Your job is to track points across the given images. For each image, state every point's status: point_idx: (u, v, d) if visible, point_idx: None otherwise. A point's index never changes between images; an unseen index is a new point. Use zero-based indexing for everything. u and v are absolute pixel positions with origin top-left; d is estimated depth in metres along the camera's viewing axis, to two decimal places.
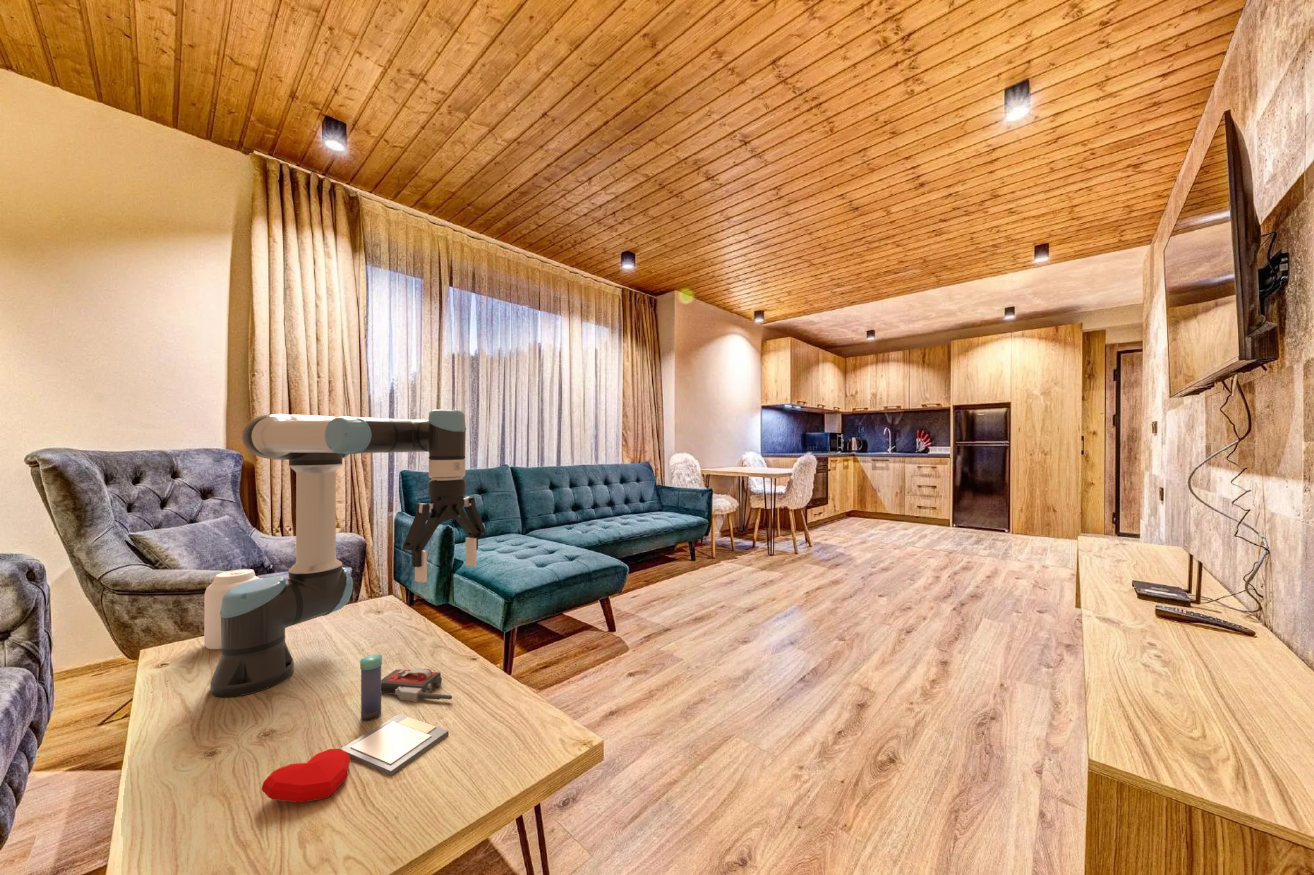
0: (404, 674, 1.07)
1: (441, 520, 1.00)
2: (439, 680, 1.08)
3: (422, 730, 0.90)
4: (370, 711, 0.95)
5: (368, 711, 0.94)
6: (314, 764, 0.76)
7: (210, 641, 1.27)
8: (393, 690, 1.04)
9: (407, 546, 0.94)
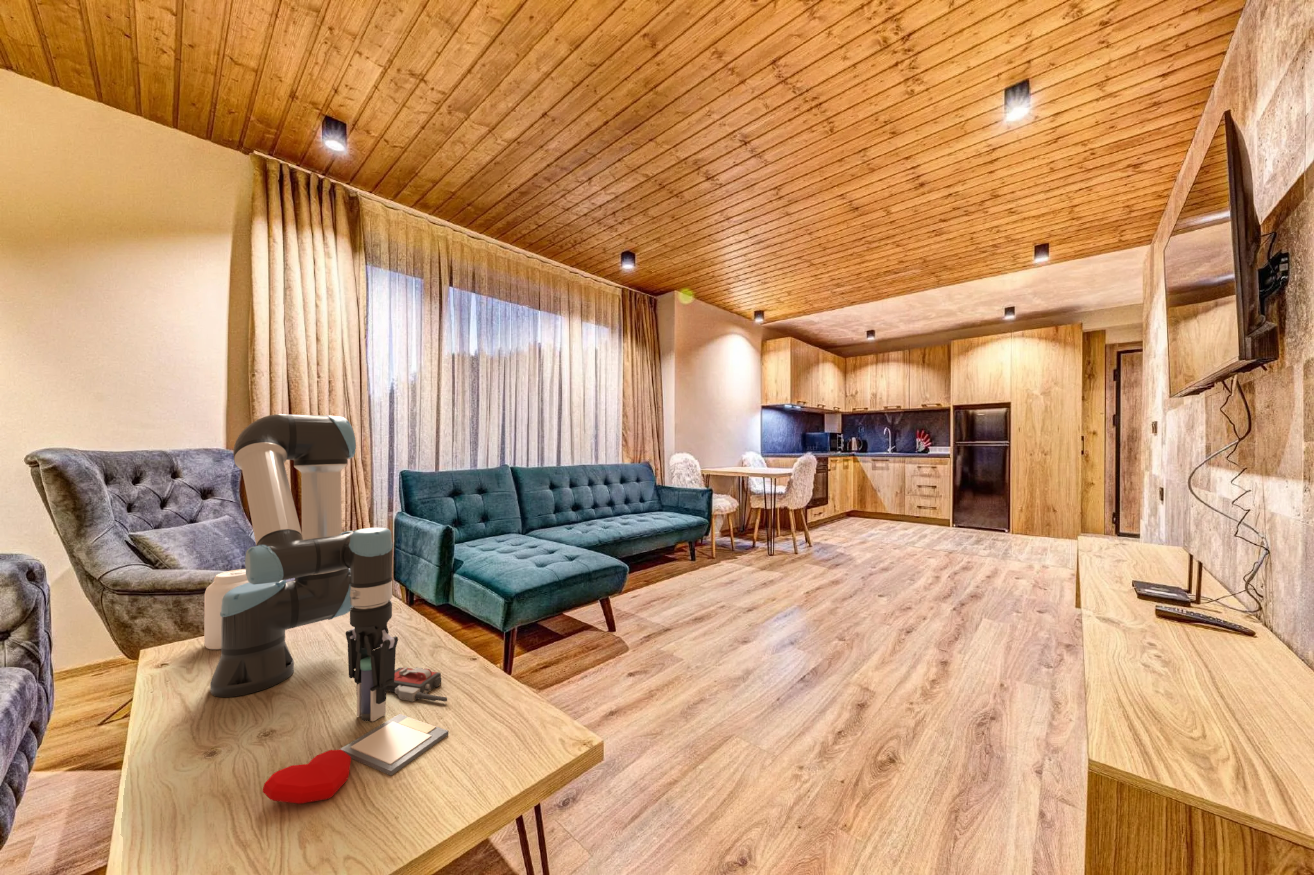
0: (405, 673, 1.08)
1: (358, 649, 0.95)
2: (438, 680, 1.08)
3: (422, 730, 0.90)
4: (370, 711, 0.95)
5: (368, 711, 0.94)
6: (315, 765, 0.76)
7: (210, 641, 1.27)
8: (393, 688, 1.05)
9: None
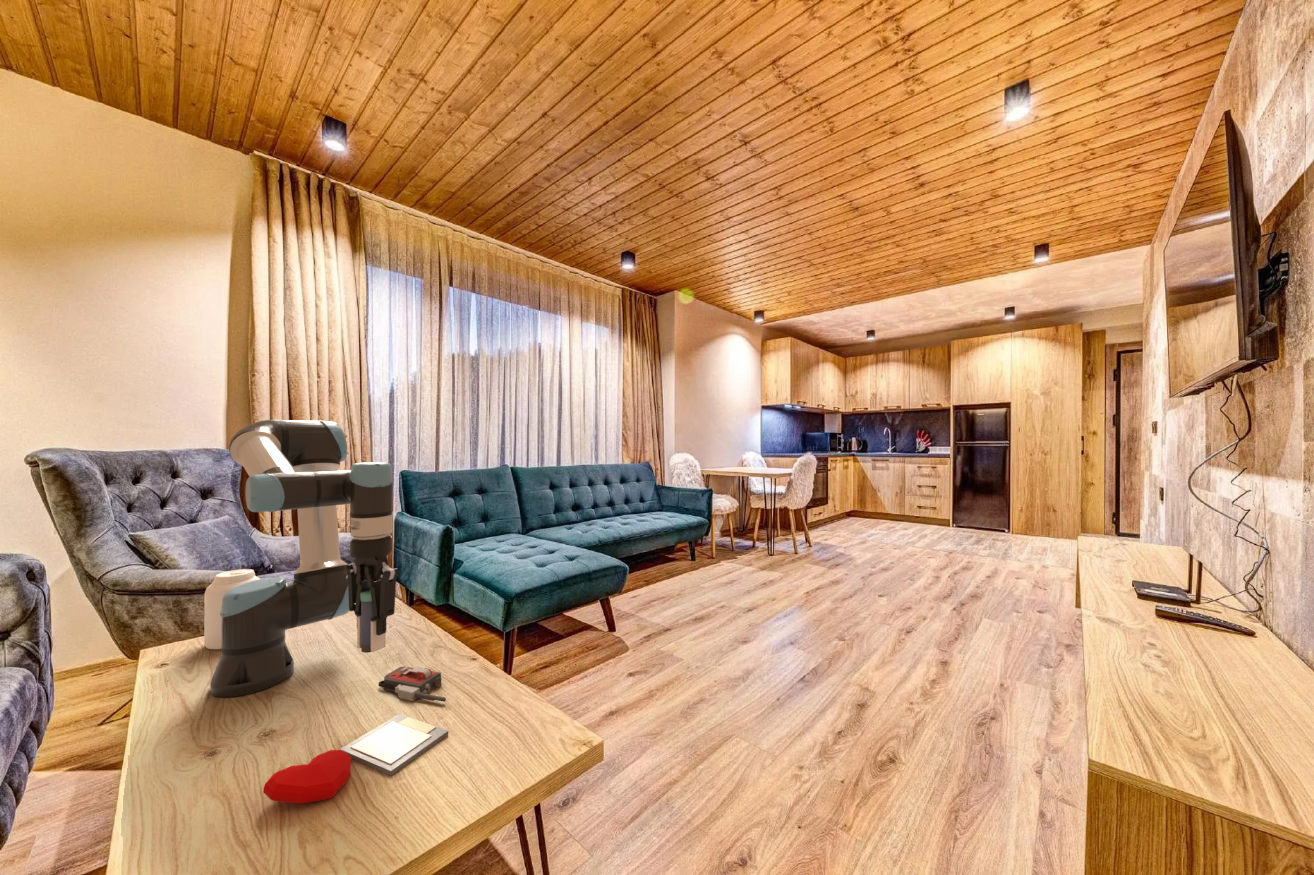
0: (406, 672, 1.08)
1: (358, 582, 0.95)
2: (438, 680, 1.08)
3: (422, 730, 0.90)
4: (370, 643, 0.95)
5: (368, 643, 0.95)
6: (316, 765, 0.76)
7: (210, 641, 1.27)
8: (393, 687, 1.05)
9: None
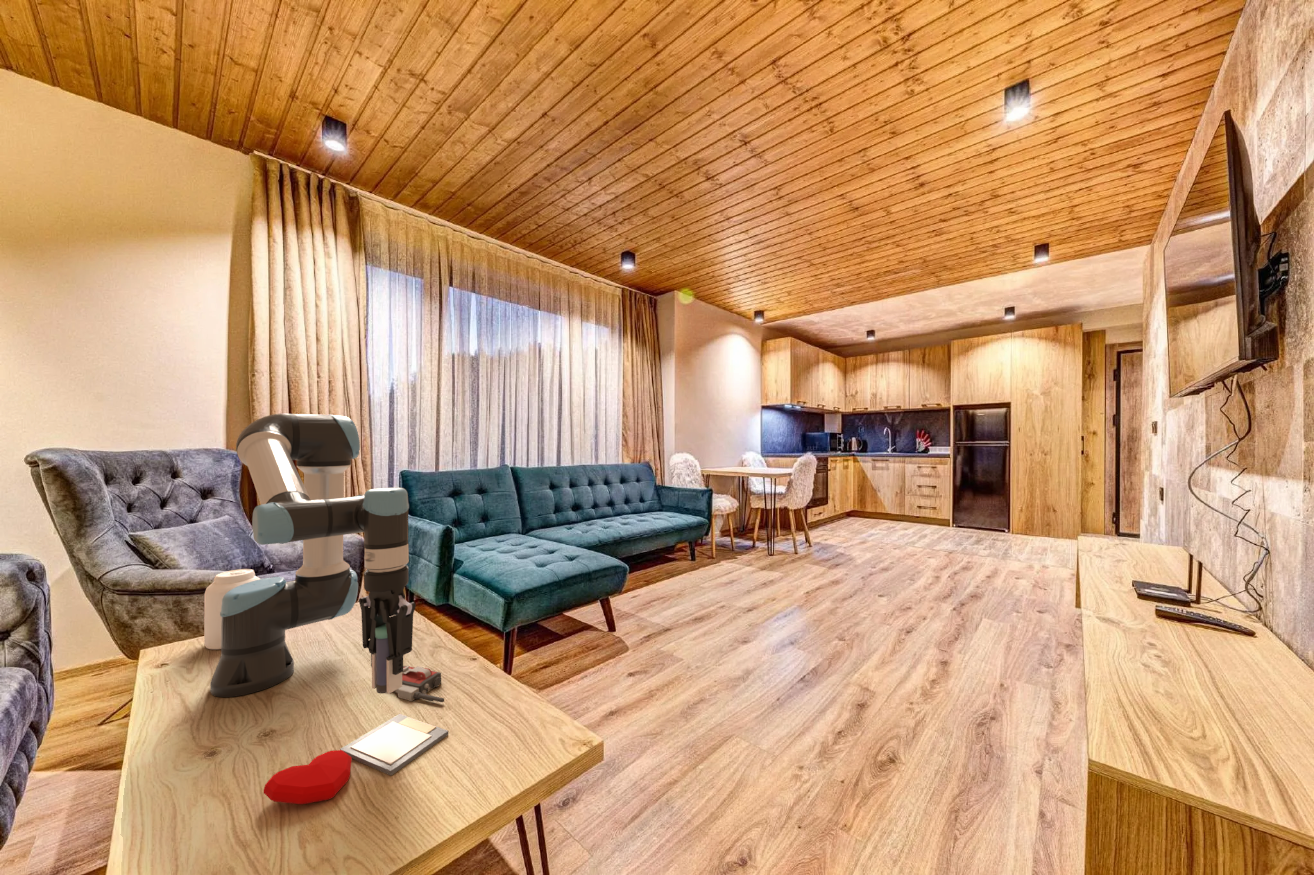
0: (406, 672, 1.08)
1: (373, 617, 0.89)
2: (438, 680, 1.08)
3: (422, 730, 0.90)
4: (386, 683, 0.88)
5: (384, 683, 0.88)
6: (316, 765, 0.76)
7: (210, 641, 1.27)
8: None
9: None
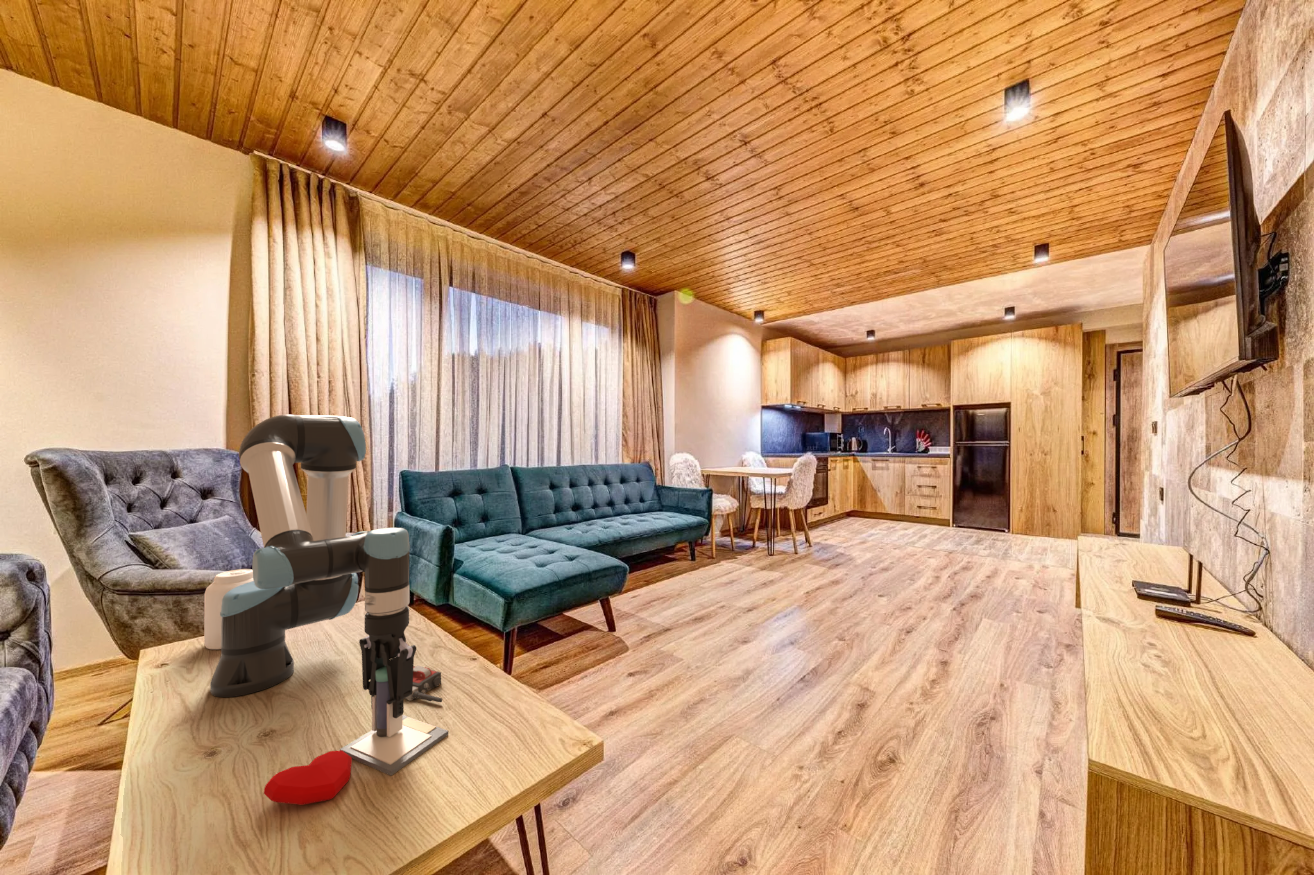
0: None
1: (373, 659, 0.88)
2: (438, 680, 1.08)
3: (422, 730, 0.90)
4: (386, 726, 0.88)
5: (384, 726, 0.88)
6: (316, 766, 0.76)
7: (210, 641, 1.27)
8: None
9: None
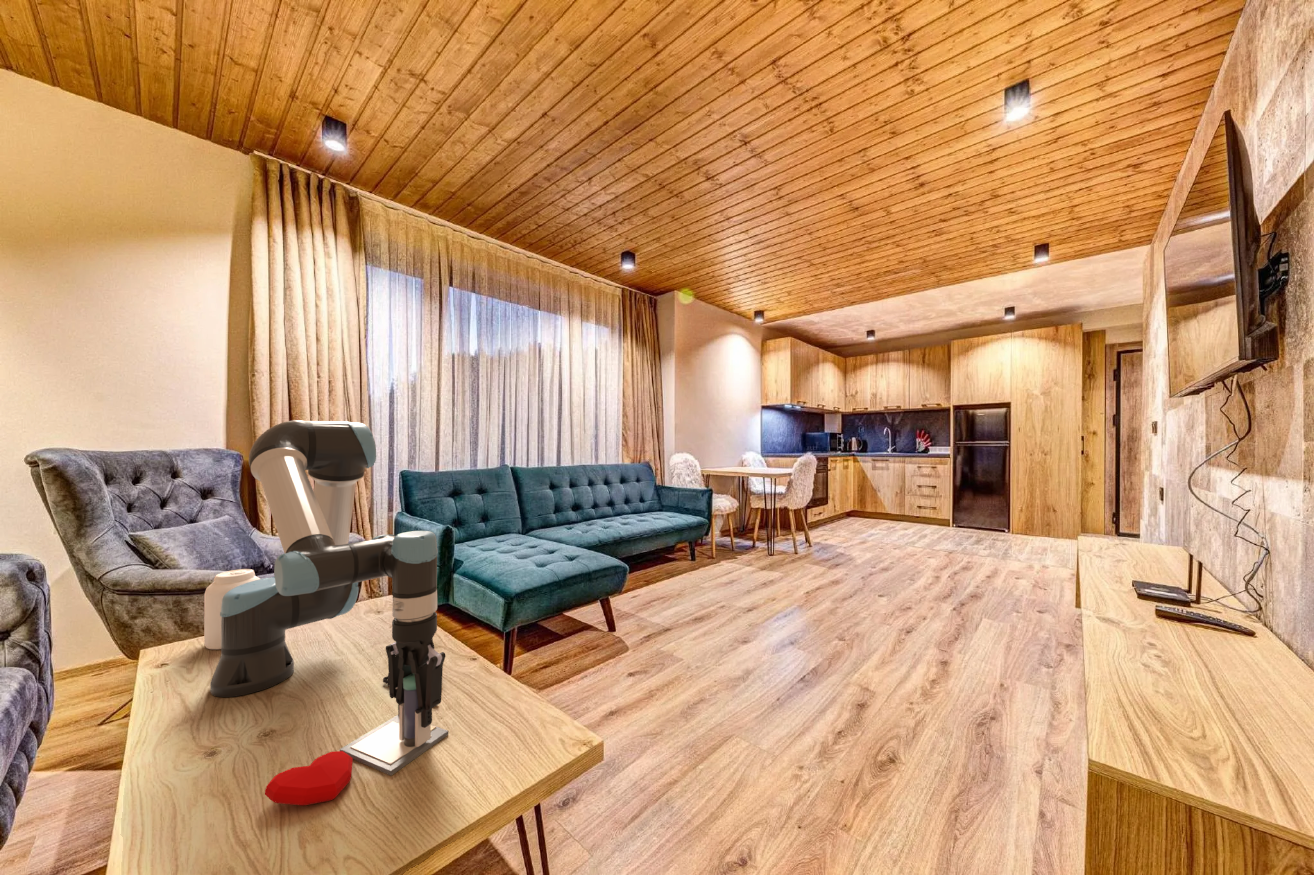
0: None
1: (400, 667, 0.86)
2: None
3: None
4: (414, 736, 0.85)
5: (412, 736, 0.85)
6: (317, 766, 0.76)
7: (210, 641, 1.27)
8: None
9: None
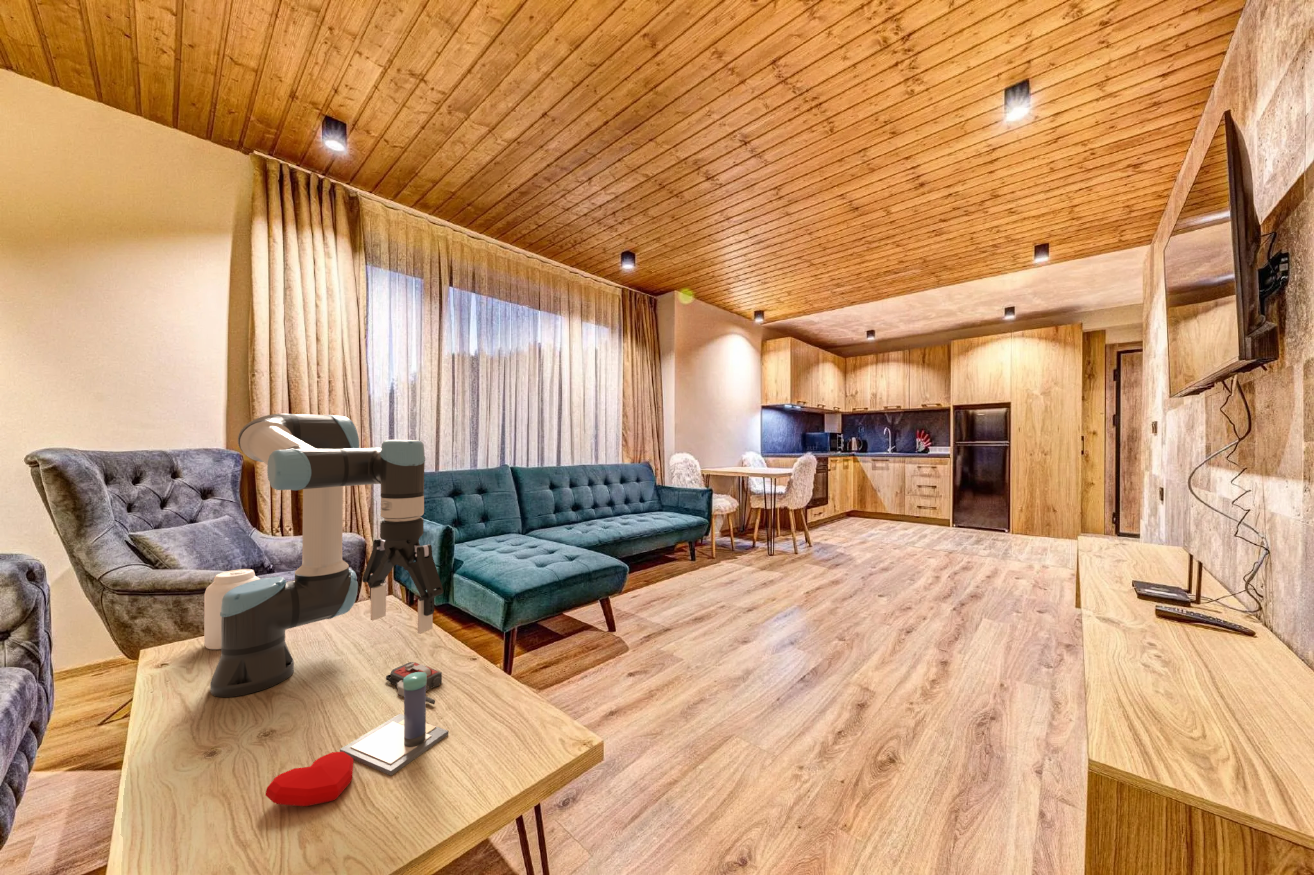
0: (410, 668, 1.10)
1: (383, 562, 0.90)
2: (438, 680, 1.08)
3: None
4: (414, 736, 0.85)
5: (412, 736, 0.85)
6: (318, 767, 0.75)
7: (210, 641, 1.27)
8: (396, 683, 1.07)
9: None
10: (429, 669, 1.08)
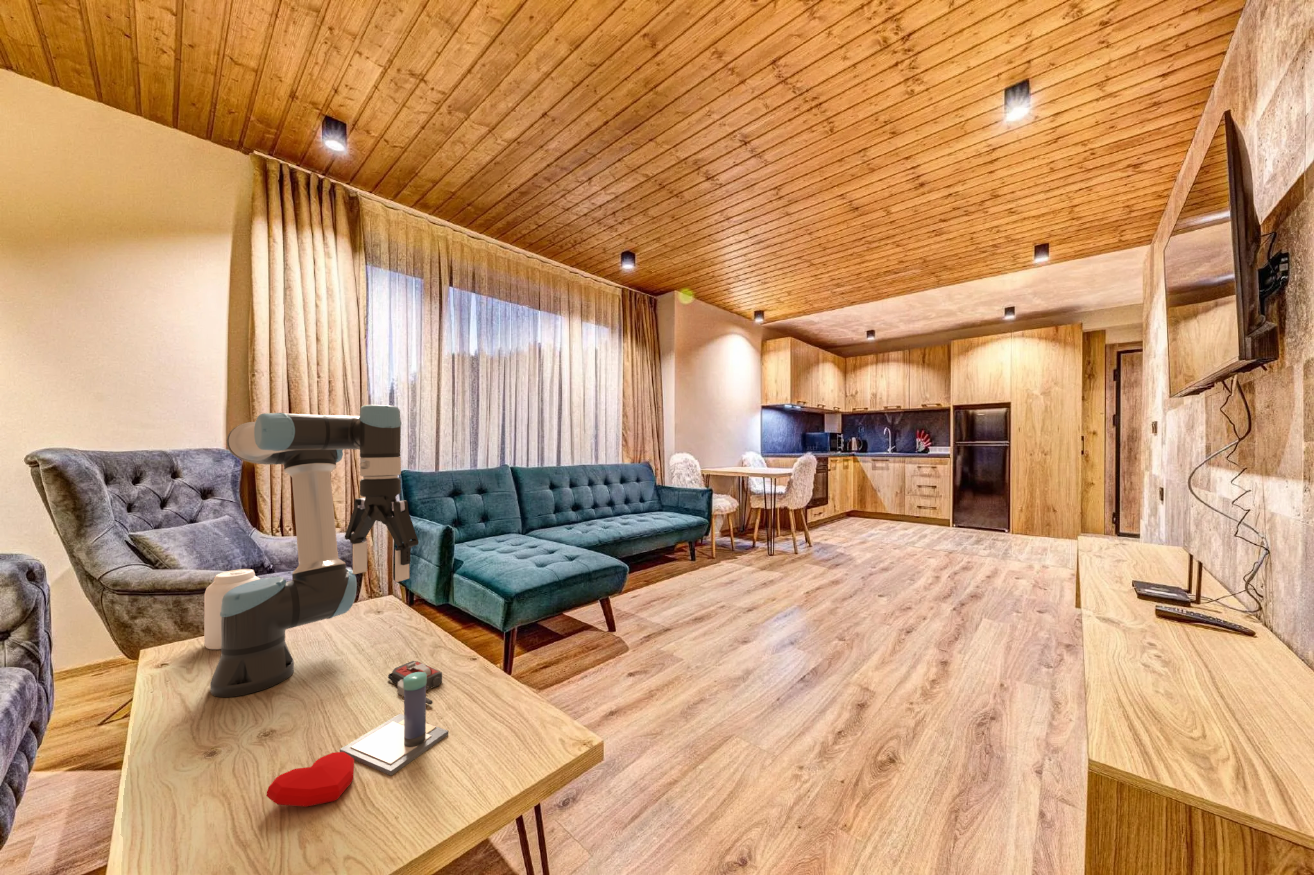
0: (411, 668, 1.10)
1: (363, 518, 0.98)
2: (437, 680, 1.08)
3: None
4: (414, 736, 0.85)
5: (412, 736, 0.85)
6: (319, 767, 0.75)
7: (210, 641, 1.27)
8: (397, 681, 1.08)
9: None
10: (429, 669, 1.08)
